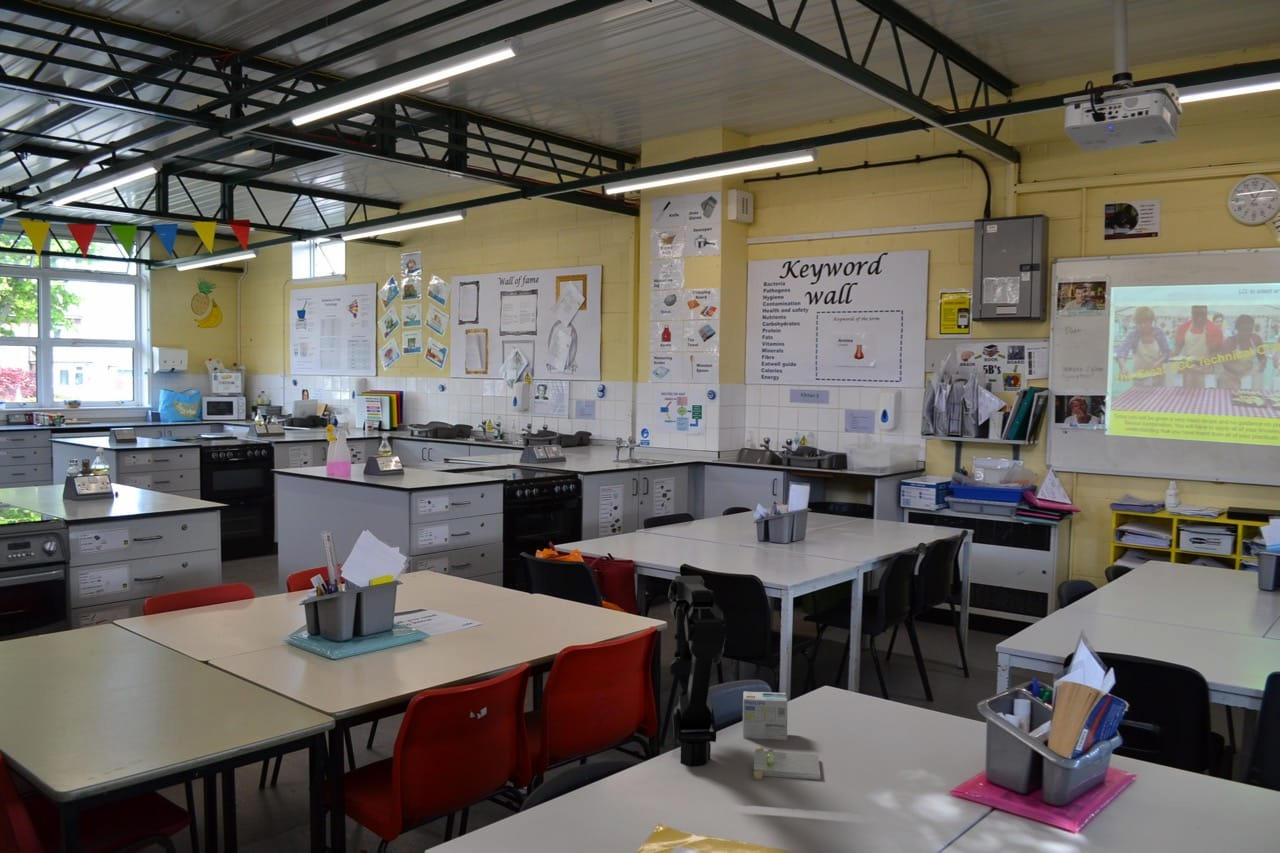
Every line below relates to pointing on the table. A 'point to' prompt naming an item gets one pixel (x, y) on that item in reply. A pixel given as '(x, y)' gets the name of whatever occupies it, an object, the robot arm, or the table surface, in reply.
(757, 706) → the light bulb box
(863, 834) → the table surface
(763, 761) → the level plate
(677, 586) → the robot arm
